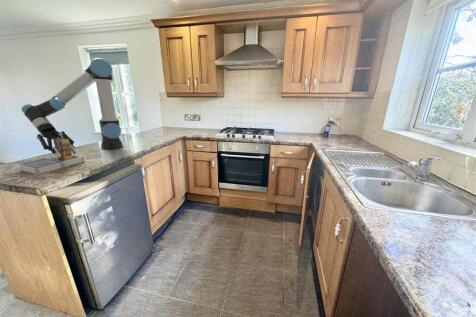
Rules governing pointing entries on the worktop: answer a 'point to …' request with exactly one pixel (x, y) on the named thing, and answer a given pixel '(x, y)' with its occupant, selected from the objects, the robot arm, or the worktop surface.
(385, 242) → the worktop surface
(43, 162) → the organizer
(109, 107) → the robot arm
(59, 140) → the candy box
